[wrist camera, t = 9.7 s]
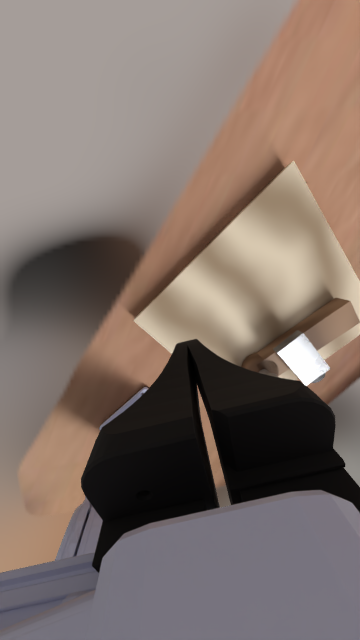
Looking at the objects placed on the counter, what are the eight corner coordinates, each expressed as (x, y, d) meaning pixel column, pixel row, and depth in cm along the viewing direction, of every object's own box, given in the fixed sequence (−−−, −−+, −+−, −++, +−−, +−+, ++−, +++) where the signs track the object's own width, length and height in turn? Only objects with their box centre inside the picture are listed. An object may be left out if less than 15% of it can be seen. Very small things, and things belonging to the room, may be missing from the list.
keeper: (289, 371, 22) (308, 388, 19) (261, 339, 20) (277, 353, 17) (310, 356, 21) (332, 372, 18) (283, 321, 20) (303, 333, 17)
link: (251, 382, 22) (265, 403, 19) (235, 364, 21) (247, 383, 18) (346, 319, 20) (380, 330, 17) (334, 295, 19) (368, 302, 15)
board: (241, 409, 25) (244, 416, 24) (135, 317, 19) (133, 320, 18) (369, 316, 21) (380, 319, 20) (284, 167, 16) (293, 160, 15)
